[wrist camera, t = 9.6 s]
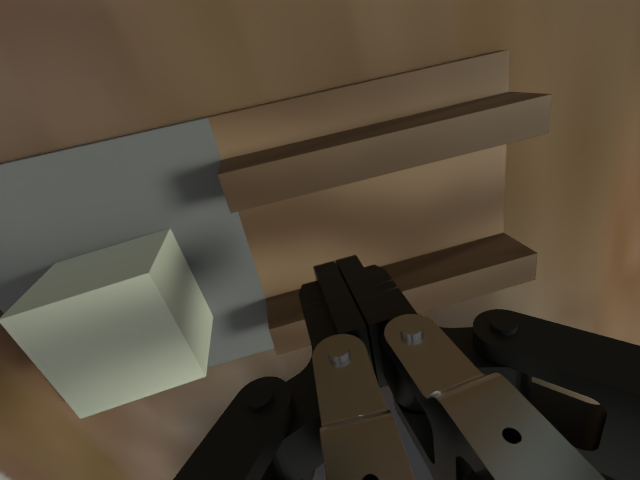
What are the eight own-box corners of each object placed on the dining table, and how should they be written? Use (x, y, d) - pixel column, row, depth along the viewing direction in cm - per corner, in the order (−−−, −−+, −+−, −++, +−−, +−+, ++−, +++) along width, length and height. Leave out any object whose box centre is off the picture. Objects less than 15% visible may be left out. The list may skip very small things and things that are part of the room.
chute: (209, 116, 15) (201, 125, 12) (501, 50, 16) (555, 45, 13) (279, 338, 20) (285, 381, 17) (494, 276, 21) (532, 307, 18)
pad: (-78, 181, 14) (-91, 185, 13) (209, 116, 15) (207, 117, 14) (76, 397, 19) (71, 406, 18) (279, 338, 20) (280, 346, 19)
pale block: (55, 263, 15) (-3, 320, 12) (170, 228, 16) (148, 272, 12) (113, 349, 17) (80, 418, 14) (213, 316, 18) (206, 376, 14)
